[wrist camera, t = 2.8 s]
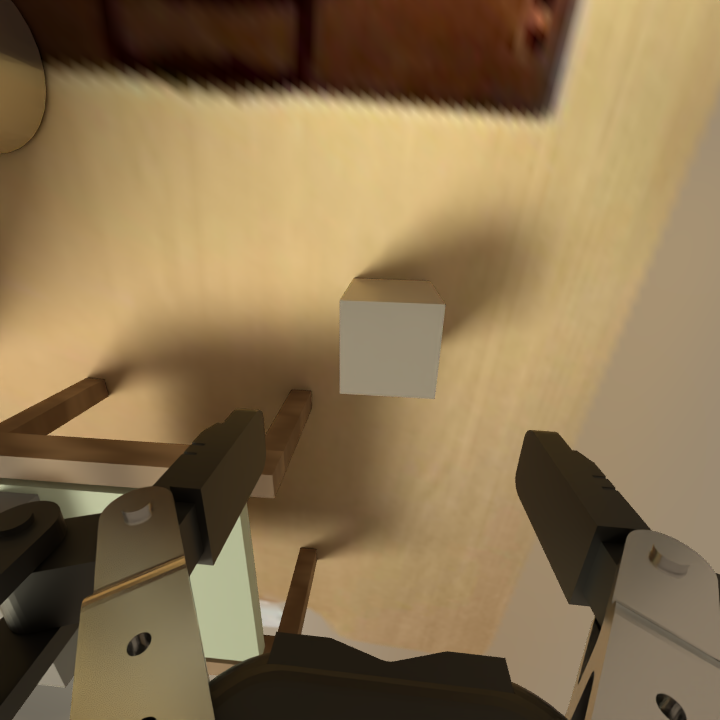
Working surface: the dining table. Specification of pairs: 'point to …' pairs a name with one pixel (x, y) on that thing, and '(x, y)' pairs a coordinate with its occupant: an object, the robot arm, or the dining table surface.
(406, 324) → the small gray block
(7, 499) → the trapdoor
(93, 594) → the robot arm
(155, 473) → the stand
